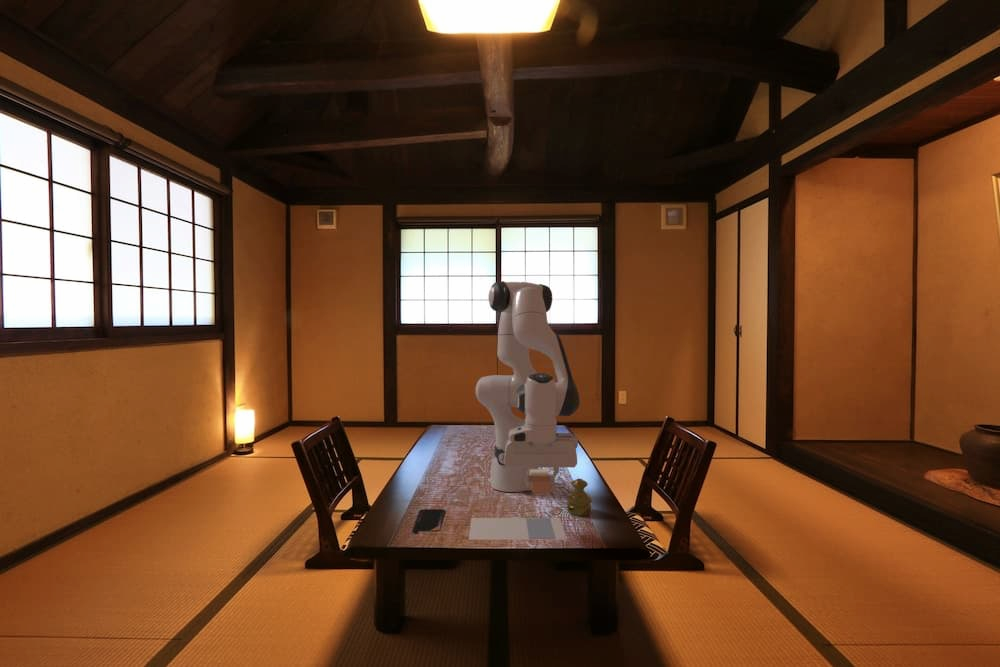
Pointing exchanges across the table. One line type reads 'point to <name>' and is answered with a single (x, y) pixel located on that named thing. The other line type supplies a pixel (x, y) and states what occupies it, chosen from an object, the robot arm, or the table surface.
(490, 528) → the mat
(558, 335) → the robot arm
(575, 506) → the olive green vase
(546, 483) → the two-tone tall block
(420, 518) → the phone
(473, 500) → the table surface
